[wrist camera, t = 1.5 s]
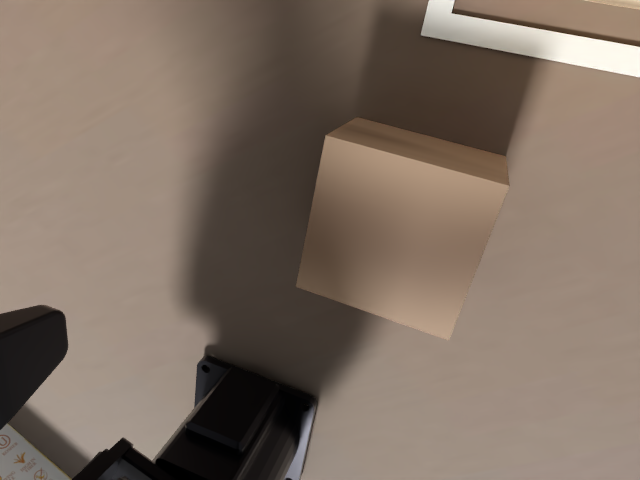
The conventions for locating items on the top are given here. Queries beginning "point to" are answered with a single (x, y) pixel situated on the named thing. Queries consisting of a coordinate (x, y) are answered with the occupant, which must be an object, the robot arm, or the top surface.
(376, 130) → the light brown wooden block
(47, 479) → the cereal box
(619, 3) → the maple block
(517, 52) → the blueprint lines
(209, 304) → the top surface
